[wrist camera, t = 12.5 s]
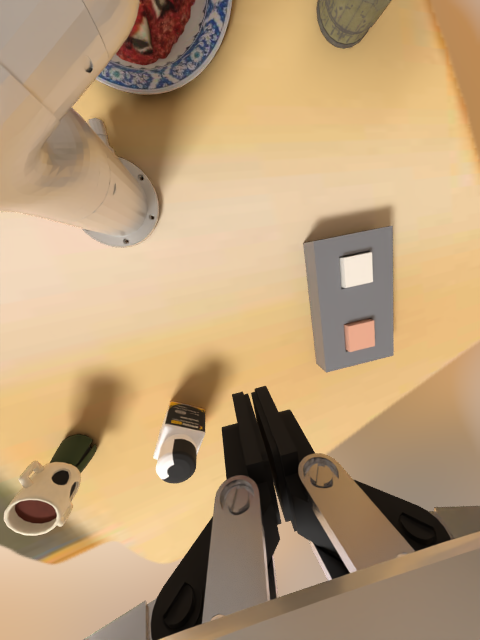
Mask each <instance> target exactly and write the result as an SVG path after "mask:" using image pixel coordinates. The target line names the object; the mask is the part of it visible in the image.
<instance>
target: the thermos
mask: <svg viewBox="0 0 480 640" xmlns="http://www.w3.org/2000/svg"><path fill="white" fill-rule="evenodd" d="M390 1H391V0H318V2H317V19H318V23H319V26H320V29H321V32H322V34H323V35H324V36H325V38H326V39H327V41H328V42H330V43H331V44H332V45H334V46H335V47H339V48H349V47H352V46H354V45H356V44H357V43H359V42H360V41H361V39H362V38H363V37H364V36H365V34H366V33H367V32H368V30H369V28H370V27H372V26H373V24H374V23H375V22H376V21H377V19H378V18H379V17H380V15H381V14H382V13H383V11H384V10H385V8H386V7H387V6H388V4H389V3H390Z"/></svg>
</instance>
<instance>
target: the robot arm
mask: <svg viewBox="0 0 480 640" xmlns="http://www.w3.org/2000/svg"><path fill="white" fill-rule="evenodd" d="M138 9H139V0H0V212H15V213H22V214H27V215H31V216H36V217H40V218H44V219H48V220H51V221H55V222H59V223H63V224H67V225H71V226H74V227H78V228H82V230H83V231H84V232H85V233H86V234H88V235H89V236H90V237H91V238H93V239H94V240H96V241H98V242H100V243H102V244H105V245H108V246H112V247H131V246H134V245H137V244H139V243H141V242H143V241H144V240H146V239H147V238H148V237H149V236H150V235H151V233H152V232H153V230H154V229H155V227H156V224H157V222H158V217H159V202H158V197H157V194H156V191H155V189H154V187H153V185H152V183H151V181H150V180H149V179H148V177H147V176H146V175H145V174H144V173H143V171H142V170H141V169H140V168H138V167H137V166H136V165H134V164H133V163H131V162H130V161H128V160H126V159H124V158H120V157H117V156H116V155H115V153H114V149H113V148H111V147H110V146H109V143H108V136H107V133H106V129H105V126H104V123H103V121H102V120H100V119H96V118H94V119H89V120H88V121H87V122H88V123H87V122H86V121H85V120H84V119H83V118H82V117H81V116H80V115H79V114H78V113H77V112H76V111H75V110H74V109H73V108H71V107H72V106H73V105H74V104H75V103H76V101H77V100H78V99H79V98H80V97H81V96H82V94H83V93H84V92H85V91H86V90H87V88H88V87H89V86H90V85H91V84H92V82H93V81H94V80H95V79H96V78H97V76H98V75H99V74H100V73H101V72H102V70H103V69H104V68H105V67H106V66H107V64H108V63H109V61H110V60H111V59H112V58H113V57H114V55H115V54H116V53H117V52H118V50H119V49H120V48H121V46H122V45H123V43H124V42H125V40H126V39H127V38H128V36H129V34H130V32H131V30H132V28H133V26H134V23H135V21H136V18H137V14H138ZM141 178H144V180H142V181H141ZM152 216H154V219H151V217H152ZM127 240H129V243H127V242H126V241H127ZM251 394H252V399H253V404H254V409H255V414H256V417H255V414H254V411H253V408H252V405H251V402H250V398H249V395H248V394H245V395H244V394H243V392H240V393H236V394H232V397H233V402H234V407H235V412H236V417H237V422H238V423H236V424H233V425H229V426H225V427H222V436H223V447H224V457H225V467H226V477H227V480H226V481H224V483H223V484H222V485H221V486H220V487H219V489H218V491H217V493H216V497H215V504H214V513H213V517H212V518H211V520H210V521H209V523H208V524H207V525H206V527H205V528H204V530H203V531H202V532H201V534H200V535H199V537H198V538H197V540H196V541H195V542H194V544H193V545H192V547H191V548H190V550H189V551H188V552H187V554H186V555H185V557H184V558H183V559H182V561H181V562H180V564H179V565H178V567H177V568H176V569H175V571H174V572H173V574H172V575H171V577H170V578H169V579H168V581H167V582H166V584H165V585H164V586H163V588H162V590H161V592H160V593H159V595H158V597H157V599H155V600H154V601H152V602H150V603H149V604H147V602H146V601H144V602H142V603H141V604H139V605H138V606H136V607H134V608H133V609H131V610H130V611H128V612H127V613H125V614H124V615H122V616H120V617H119V618H117V619H115V620H114V621H112V622H111V623H109V624H107V625H106V626H104V627H103V628H101V629H99V630H98V631H96V632H95V633H93V634H92V635H90V636H89V637H87V638H85V639H84V640H480V506H463V507H434V512H433V511H432V512H428V511H427V510H425V509H423V508H421V507H419V506H417V505H415V504H412V503H410V502H407V501H405V500H403V499H400V498H398V497H395V496H393V495H390V494H388V493H385V492H383V491H380V490H378V489H375V488H373V487H371V486H368V485H366V484H363V483H361V482H358V481H356V480H353V479H352V478H351V477H350V475H349V474H348V473H347V472H346V471H345V470H344V468H343V467H342V466H341V465H340V464H339V463H338V462H337V461H336V460H335V459H333V458H332V457H330V456H328V455H325V454H321V453H316V454H315V452H314V451H313V449H312V447H311V445H310V444H309V442H308V440H307V438H306V437H305V435H304V433H303V431H302V429H301V428H300V426H299V424H298V422H297V421H296V419H295V417H294V415H293V414H292V412H291V410H286V411H282V412H278V410H277V408H276V406H275V404H274V402H273V400H272V398H271V395H270V393H269V391H268V389H267V387H266V386H263V387H259V388H256V389H255V392H252V393H251ZM256 419H257V420H256ZM273 482H274V483H273ZM274 486H275V488H274ZM275 489H276V492H277V496H278V499H279V502H280V505H281V509H282V512H283V515H284V518H285V521H286V522H288V521H291V522H292V525H293V528H294V531H297V532H298V534H300V535H301V536H303V537H305V538H306V539H308V540H309V542H310V545H311V548H312V550H313V552H314V554H315V556H316V558H317V560H318V562H319V564H320V566H321V568H322V570H323V572H324V574H325V576H326V578H327V579H328V581H326V582H323V583H320V584H317V585H314V586H311V587H308V588H305V589H302V590H299V591H296V592H293V593H290V594H287V595H285V596H282V597H279V598H278V592H277V583H276V573H275V565H274V558H273V554H274V551H275V549H276V547H277V545H278V542H279V540H280V537H279V533H278V527H277V525H278V524H281V519H280V514H279V509H278V504H277V498H276V493H275Z"/></svg>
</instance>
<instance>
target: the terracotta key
mask: <svg viewBox="0 0 480 640" xmlns="http://www.w3.org/2000/svg"><path fill="white" fill-rule="evenodd" d="M344 335H345V349H346V350H347V351H349V352H353V351H357V350H361V349H365V348H369V347H373V346H375V329H374V320H371V319H369V318H367V319H363V320H359V321H355V322H350V323H346V324H344Z"/></svg>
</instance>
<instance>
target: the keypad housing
mask: <svg viewBox="0 0 480 640" xmlns="http://www.w3.org/2000/svg"><path fill="white" fill-rule="evenodd" d="M303 244H304V254H305V263H306V272H307V281H308V290H309V300H310V309H311V318H312V327H313V336H314V346H315V355H316V364H318V365H319V366H320V367H321V368H322V369H323V370H324V371H325V372H330V371H334V370H338V369H342V368H346V367H350V366H354V365H358V364H361V363H365V362H369V361H373V360H377V359H381V358H385V357H389V356H393V230H392V226H388V227H383V228H377V229H372V230H367V231H362V232H357V233H352V234H347V235H342V236H337V237H332V238H327V239H322V240H317V241H312V242H307V243H303ZM365 252H372V266H373V282H371V283H366V284H362V285H357V286H353V287H348V288H343V287H341V278H340V263H339V257H340V256H344V255H349V254H354V253H355V254H357V253H365ZM367 318H369V319H371V320H374V329H375V346H373V347H369V348H365V349H361V350H357V351H353V352H349V351H347V350H346V349H345V335H344V324H346V323H350V322H355V321H359V320H363V319H367Z"/></svg>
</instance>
